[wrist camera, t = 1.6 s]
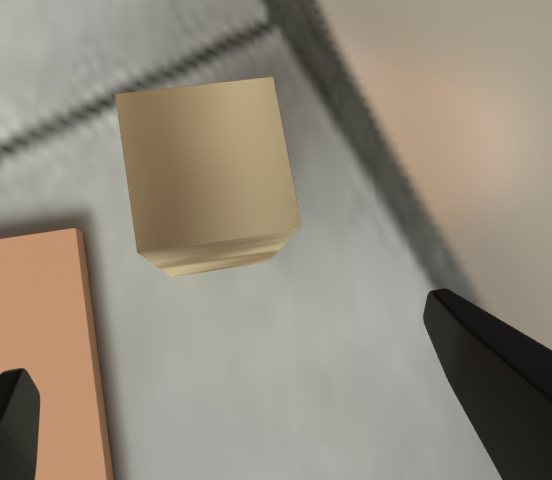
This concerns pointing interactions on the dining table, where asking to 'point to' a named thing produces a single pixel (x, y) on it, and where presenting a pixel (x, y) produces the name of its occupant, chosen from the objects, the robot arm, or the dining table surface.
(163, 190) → the maple block
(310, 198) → the dining table surface
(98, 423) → the terracotta tile
